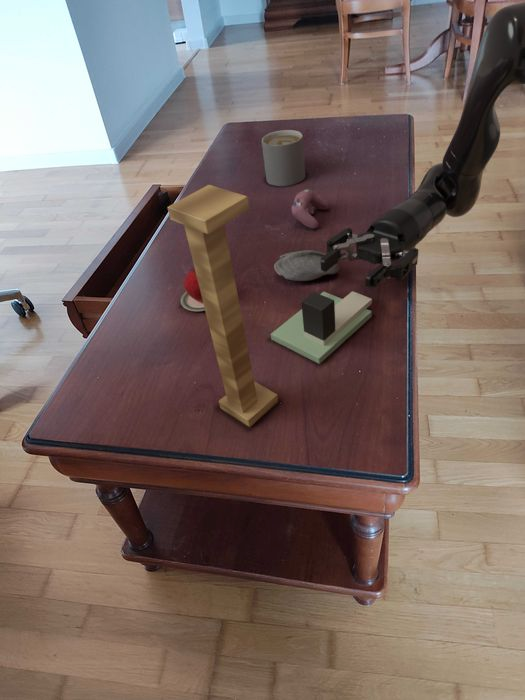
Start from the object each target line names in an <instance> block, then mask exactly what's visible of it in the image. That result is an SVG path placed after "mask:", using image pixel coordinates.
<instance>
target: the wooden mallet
mask: <svg viewBox="0 0 525 700" xmlns="http://www.w3.org/2000/svg"><path fill="white" fill-rule="evenodd" d="M320 294H321V293H318V292H316V291H313V292H311V293H310V294H309V295H307V296H306V297H305V298H304V299H302V300H301V309H302V314H303V326H304V336H305V337H307V338H309V339H311V340H313V341H315V342H317V343H319V344H321V345H323V346H325V345H326V344H327V343H328V342H329V341H330V340H331V339H333V338H334V337H335V336H336V335H337V334H338V333H339V332H340V331H342V330H343V329H344V328H345V327H346V326H347V325H348V324H349V323H351V322H352V321H353V320H354V319H355V318H356V317H357V316H358V315H360V314H361V313H362V312H363V311H364V310H365V309H367V308H369V307H370V306H371V305H372V304H373V298H371V297H369V296H366V295H363V294H362V293H361V294H360V293H359V292H356V291H353V290H352V291H350V292H349V293H348V294H347V295H346V296H344V298H341V299H342V300H341V301H340V302H339V303H338V304H336V305H335V303H334V300H332V299H330V298H328V297H325V296H323V295H320Z"/></svg>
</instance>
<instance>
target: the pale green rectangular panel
mask: <svg viewBox="0 0 525 700" xmlns="http://www.w3.org/2000/svg"><path fill="white" fill-rule="evenodd" d="M319 294H320V295H323V296H325V297H328V298H330V299H332V300H334V303H335V305H336V304H338V303H339V302H340V301H341V300H342V299H343V298H341V297H338V296H336V295H333V294H331V293H328V292H326V291H322V292H321V293H319ZM372 315H373V311H372V310H370V309H367V308H366V309H365V310H364V311H363V312H362V313H361V314H360V315H358V316H357V317H356V318H355V319H354V320H353V321H352V322H351V323H349V324H348V325H347V326H346V327H345V328H344V329H343V330H342V331H340V332H339V333H338V334H337V335H336V336H335V337H334V338H333V339H331V340H330V341H329V342H328V343H327V344H326V345H325V346H323V345H321V344H319V343H317V342H315V341H313V340H311V339H309V338H307V337H305V336H304V326H303V314H302V308H301V309H300V310H299V311H297V312H296V313H295V314H294V315H292V316H290V318H289V319H287V320H286V321H285V322H284V323H282V324H281V325H280V326H279V327H278V328H276V329H275V330H274V331H272V332H271V333H270V339H271V341H273V342H276V343H277V344H279V345H281V346H284V347H285V348H287V349H289V350H291V351H293V352H295V353H297V354H299V355H301V356H303V357H305V358H307V359H309V360H311V361H312V362H314V363H317V364H319V365H320V364H321V363H322V362H324V361H325V360H326V359H327V358H328V357H329V356H331V355H332V353H333V352H335V351H336V350H337V349H338V348H339V347H340V346H341V345H342V344H344V343H345V342H346V341H347V340H348V339H349V338H350V337H351V336H352V335H353V334H354V333H356V332H357V331H358V330H359V329H360V328H362V326H363V325H364V324H365V323H366V322H367V321H369V320H370V319H371V318H372V317H373V316H372Z"/></svg>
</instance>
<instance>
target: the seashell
mask: <svg viewBox="0 0 525 700" xmlns="http://www.w3.org/2000/svg"><path fill="white" fill-rule="evenodd" d="M326 254H327V253H325V252H323V251H318V250H313V249H308V250H307V249H306V250H300V251H292V252H288V253H284V254H282V255H280V256H279V258H278V260H277V261H276V262H274V265H273V268H274V271H275V273H276V274H277V275H279V276H283V278H284V279H286V280H290V281H297V282H308V281H313V280H317V279H320V278H322V277H324V276H327V275H335V274H337V273H338V272H339V270H340V266H339V264H338V263H337V264H335V265H334V266H333V267H331V268H330V269H329V270H328V271H326V272H324V271H322V270H321V260H320V259H321V258H322V257H323V256H324V255H326Z"/></svg>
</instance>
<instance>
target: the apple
mask: <svg viewBox="0 0 525 700" xmlns="http://www.w3.org/2000/svg"><path fill="white" fill-rule="evenodd" d="M183 284H184V289H185V292H184V293H183V294H182V296H181V297H180V304H181V306H182V307H183V309H185V310H188V311H190V312H205V308H204V304H203V300H202V296H201V292H200V287H199V283H198V279H197V275H196V271H195V268H194V269H190V268H189V269H188V273H187V274H186V275H185V278H184V281H183Z"/></svg>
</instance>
